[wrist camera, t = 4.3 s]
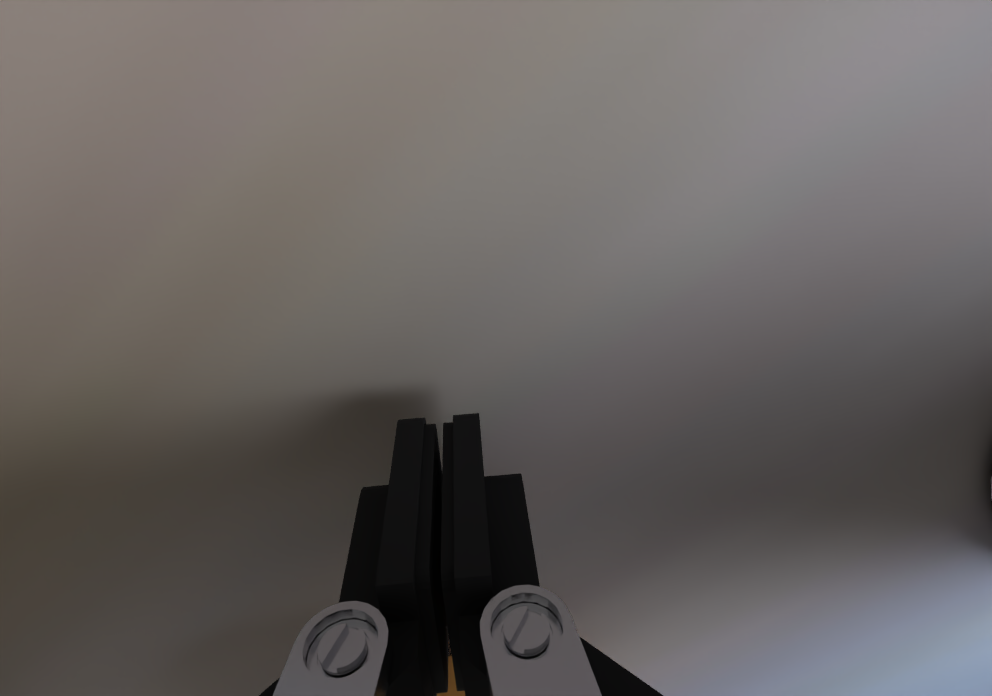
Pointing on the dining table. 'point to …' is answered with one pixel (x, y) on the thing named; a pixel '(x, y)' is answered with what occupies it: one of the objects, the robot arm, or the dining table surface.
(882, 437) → the dining table surface
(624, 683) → the robot arm
